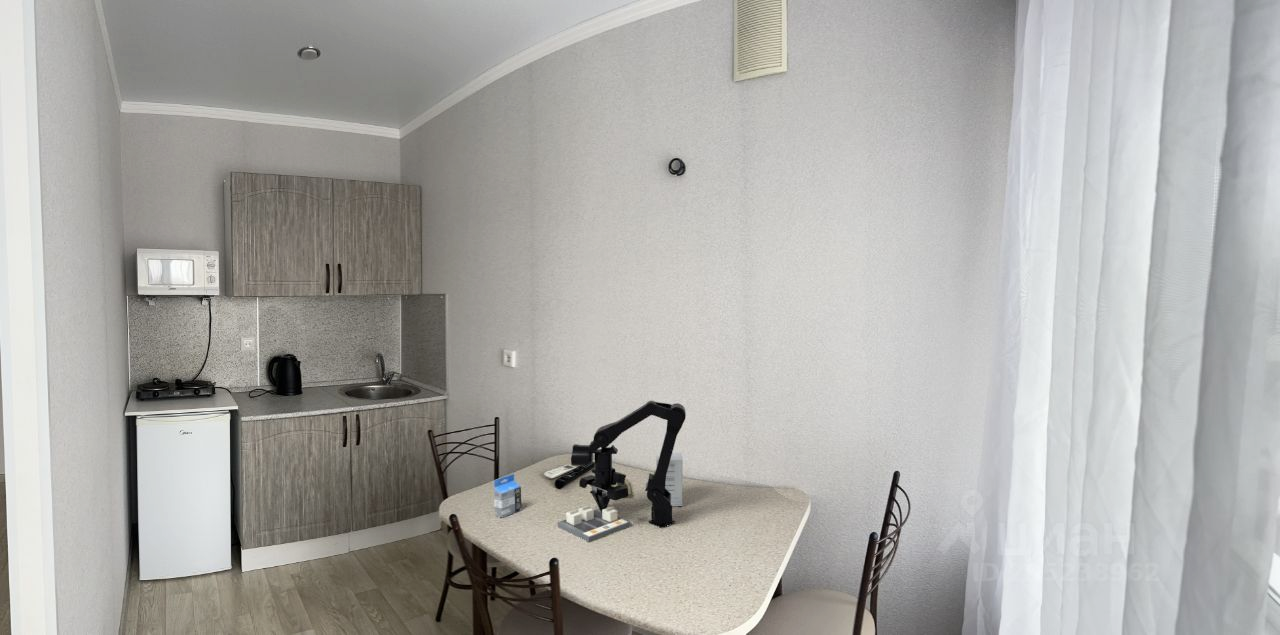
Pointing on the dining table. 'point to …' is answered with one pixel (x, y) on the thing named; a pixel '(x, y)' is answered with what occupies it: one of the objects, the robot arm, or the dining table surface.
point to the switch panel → (594, 527)
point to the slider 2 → (609, 514)
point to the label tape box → (507, 496)
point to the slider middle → (587, 513)
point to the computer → (626, 485)
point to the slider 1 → (574, 517)
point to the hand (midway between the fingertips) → (603, 512)
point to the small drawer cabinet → (674, 478)
